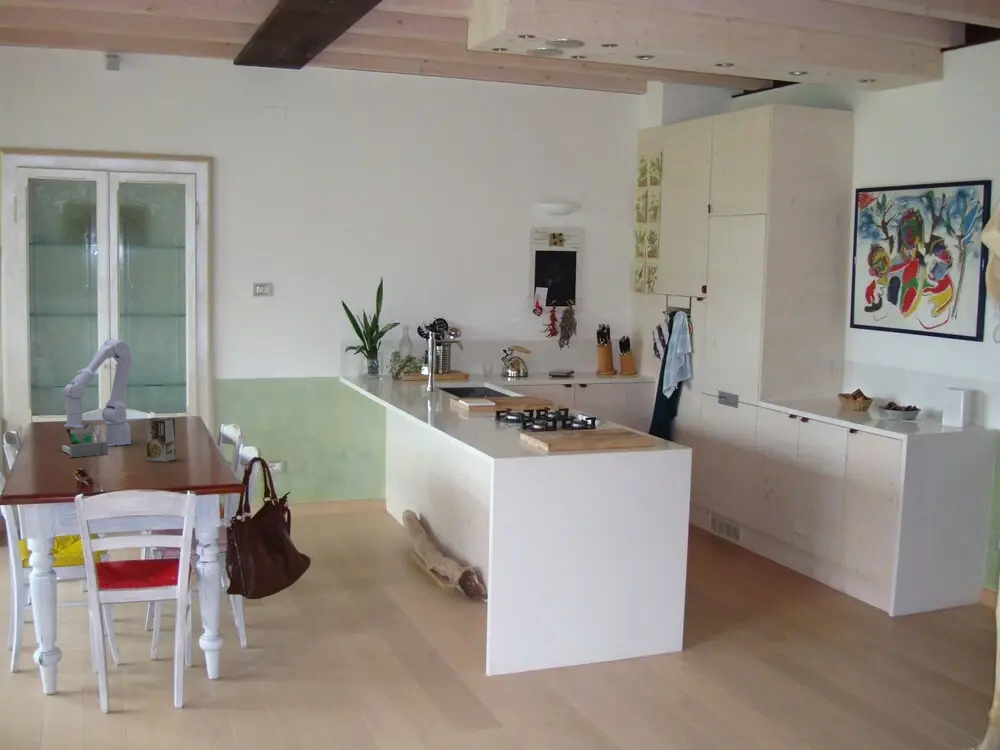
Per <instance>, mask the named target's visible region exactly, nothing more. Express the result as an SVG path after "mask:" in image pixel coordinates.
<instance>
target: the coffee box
mask: <svg viewBox="0 0 1000 750" xmlns="http://www.w3.org/2000/svg"><path fill="white" fill-rule="evenodd" d="M175 420H176V419H175V418H172V417H171V418H170V417H152V418H149V419H146V420H145V428H146V429H145V431H146V432H145V433H146V452H147V453H146V454H147V457H146V458H147V459H146V460H147V461H154V462H171V461H175V460H176V429H175V428H176V421H175Z"/></svg>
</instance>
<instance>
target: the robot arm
mask: <svg viewBox="0 0 1000 750" xmlns="http://www.w3.org/2000/svg"><path fill="white" fill-rule="evenodd" d="M130 348H131V347H130V345H129V344H128V343H127V342H126V341H125V340H122V339H121V340H119V339H113V338H108V339H106V340H105V341H104V343H103V344H101V345H100V347H99V350H98V351H97V352H96V354H95V356H94V357H93V358H92V360H91V361H90V363H89V364H88V366H87V367H85V368H82V369H79V370H78V371H77V374H76V376H75V377H74V378H73V379H72V380H70V383H69V384H66V385H65V387H64V390H62V393H63V395H64V397H65V401H66V403H65V404H66V423H65V424H64V425H63V426H64V427H65V428H66V427H67V428H69V429H65V431H66V433H67V435H68V436H69V439H70V441H71V434H70V430H71V428H74V429H83V427H84V424H83V409H82V397H83V396H84V394H85V389H86V388H87V387H88V386H89V384H90V383H91V382H92V381H93V380H94V378H95V372H96V371H97V370H98V369H99V368H100V367H101V366H102V364H104V362H106V360H107V359H111V358H113V359H114V361H115V362H116V368H115V373H114V376H113V382H112V386H111V387H112V389H111V393H110V398H109V400H108V401H107V402H106V403H105V407H104V408H103V410H102V413H101V416H102V419H103V420H104V421H105V423H104V424H105V441H106V442H108V447H116V446H115V445H117V446H124V445H125V446H127V445H132V441H131V438H132V437H131V426H130V424H129V422H125V421H126V419H127V406H126V404H125V397H126V396H125V395H126V392H127V386H128V381H129V376H130V371H131V367H132V365H131V364H132V360H133V359H132V356H131V353H130ZM126 444H127V445H126Z"/></svg>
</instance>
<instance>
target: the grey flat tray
mask: <svg viewBox="0 0 1000 750" xmlns="http://www.w3.org/2000/svg"><path fill="white" fill-rule="evenodd" d="M108 447H109V446H108V442H106V440H104V441H98V442H92V443H87V444H77V445H71V444H69V446H68V445H65V444H64V445H62V448H61V449H62V451H64V452H66V453H68V454H70V455H69V458H70V457H78V458H83V457H82V456H87V457H92V456H91V455H96V456H98V455H97V454H109V448H108ZM64 452H63V453H64ZM66 453H65V454H66ZM68 454H67V455H68Z"/></svg>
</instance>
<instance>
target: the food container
mask: <svg viewBox="0 0 1000 750" xmlns="http://www.w3.org/2000/svg"><path fill="white" fill-rule="evenodd" d="M70 428H71V427H70ZM95 432H96V430H95V427H94V425H93V424H85V426H83V429H74V428H71V430H70V434H71V440H70V443H71V444H70V445H77V444H87V443H93V436H94V435H93V434H94V433H95Z"/></svg>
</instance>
